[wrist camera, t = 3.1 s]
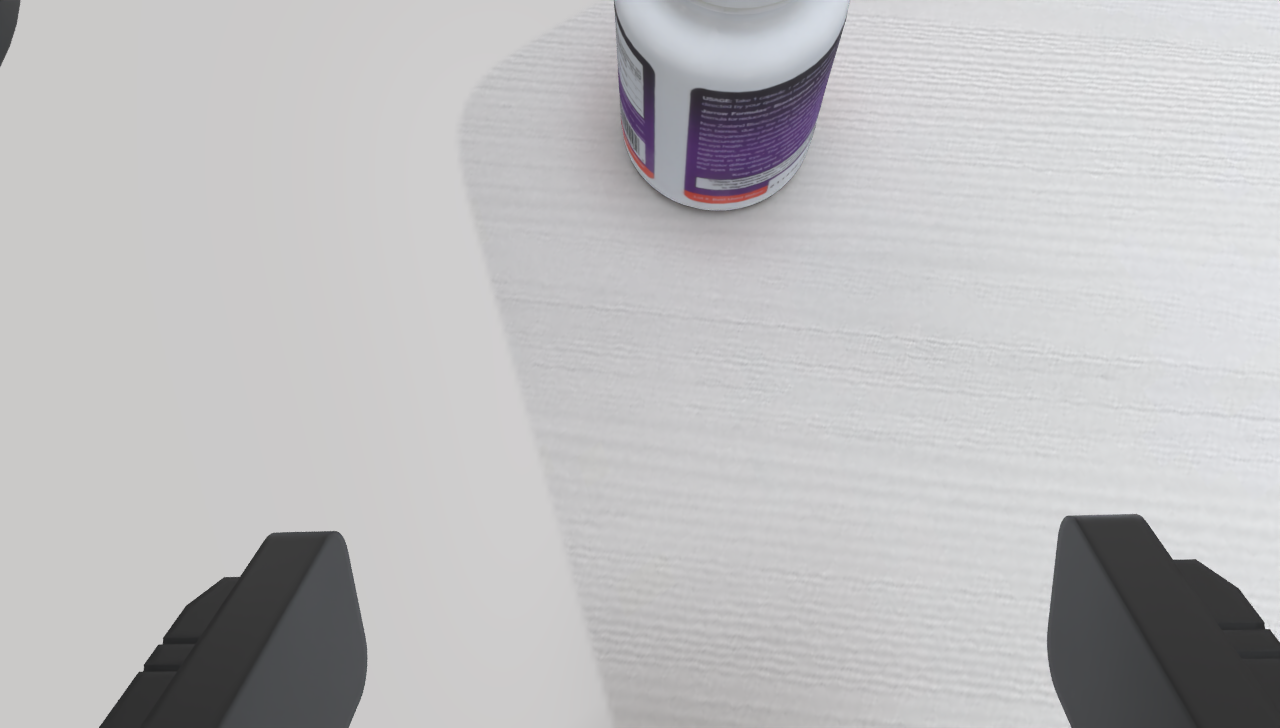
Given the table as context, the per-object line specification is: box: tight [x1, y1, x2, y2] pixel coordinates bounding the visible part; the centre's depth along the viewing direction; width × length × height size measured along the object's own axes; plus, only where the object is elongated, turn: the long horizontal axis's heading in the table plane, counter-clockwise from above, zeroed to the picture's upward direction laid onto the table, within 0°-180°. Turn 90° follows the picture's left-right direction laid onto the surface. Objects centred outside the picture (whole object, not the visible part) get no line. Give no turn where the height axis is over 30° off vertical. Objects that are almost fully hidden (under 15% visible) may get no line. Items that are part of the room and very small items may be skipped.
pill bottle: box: [614, 0, 850, 210], centre depth 26 cm, size 5×5×10 cm
